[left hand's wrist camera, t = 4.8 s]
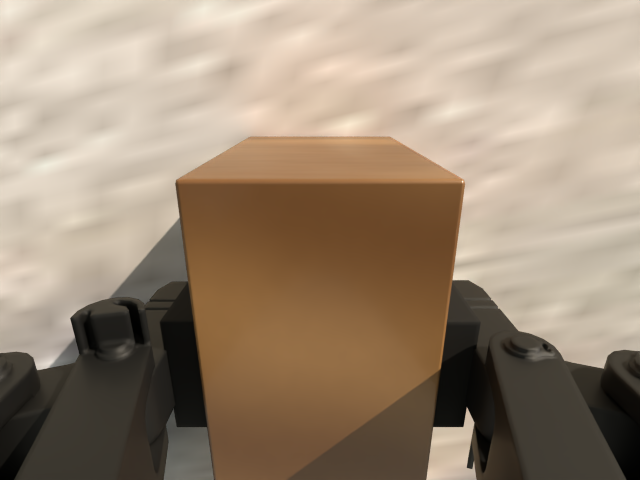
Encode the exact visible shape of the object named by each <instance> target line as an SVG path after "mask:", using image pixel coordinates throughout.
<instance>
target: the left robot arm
mask: <svg viewBox="0 0 640 480" xmlns="http://www.w3.org/2000/svg"><path fill="white" fill-rule="evenodd" d="M70 319H71V323H72V327H73V331H74V334H75V338H76V342H77V346H78V350H79V354H80V355H79V357H78V358H77V360H76V362H75V363H72V364H68V365H63V366H58V367H53V368H48V369H42V370H37V369H36V366H35V362H34V359H33V357H31V356H30V355H29V354H27V353H22V352H10V353H0V480H163V479H164V472H165V464H166V457H167V449H168V435H167V429H166V423H167V421H168V419H169V417H170V414H171V412H172V410H173V408H174V413H175V419H176V425H177V427H207V421H206V414H205V406H204V398H203V391H202V383H201V375H200V368H199V360H198V353H197V345H196V337H195V330H194V322H193V314H192V307H191V299H190V291H189V284H188V282H171V283H169V284H167V285H166V286H164V287H162V288H160V289H159V290H157V292H156V293H155V294H154V295H153V296H152V298H151V299H150V302H147V304H146V305H145V306H144V303H143V302H141V301H140V300H139V299H134V298H130V297H122V298H112V299H106V300H101V301H99V302H96V303H93V304H90V305H88V306H86V307H84V308H82V309H80V310H79V311H77V312H76V313H75V314H74V315H73V316H72V317H71V318H70ZM466 408H468V410H469V412H470V414H471V416H472V418H473V420H474V422H475V423H474V429H473V434H472V440H471V446H470V451H469V457H468V463H467V468H470V469H472V468H473V462H474V463H475V471H476V478H477V480H640V351H630V350H621V351H614V352H612V353H611V354H610V355H608V357H607V360H606V364H605V367H604V369H602V368H597V367H592V366H586V365H581V364H576V363H571V362H567V361H564V360H563V358H562V356H561V354H560V353H559V352H558V350H557V349H556V348H555V347H554V346H553V345H551V344H550V343H548V342H547V341H545V340H544V339H542V338H539V337H537V336H534V335H532V334H529V333H524V332H520V331H518V330H517V329H516V328H515V327H514V325H513V324H512V323H511V322H510V321H509V319H508V318H507V317H506V316H505V315H504V313H503V312H502V311H501V310H500V309H498V306H497V305H496V304H495V303H494V302H493V300H491V298H490V297H489V296H488V294H487V293H486V292H485V291H484V290H483V289H482V288H481V287H479V286H477V285H475V284H474V283H472V282H470V281H469V280H452V286H451V294H450V302H449V309H448V317H447V325H446V332H445V340H444V347H443V355H442V363H441V370H440V378H439V386H438V393H437V401H436V408H435V416H434V424H433V427H463V426H464V420H465V414H466Z"/></svg>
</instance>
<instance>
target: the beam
mask: <svg viewBox="0 0 640 480" xmlns="http://www.w3.org/2000/svg"><path fill="white" fill-rule="evenodd" d="M175 184H176V192H177V200H178V207H179V215H180V223H181V230H182V238H183V246H184V253H185V261H186V268H187V276H188V284H189V291H190V299H191V307H192V314H193V322H194V330H195V337H196V345H197V353H198V360H199V368H200V375H201V383H202V391H203V398H204V406H205V414H206V421H207V429H208V437H209V444H210V452H211V460H212V467H213V475H214V480H426V477H427V469H428V462H429V454H430V447H431V439H432V431H433V424H434V416H435V408H436V401H437V393H438V386H439V378H440V370H441V363H442V355H443V347H444V340H445V332H446V325H447V317H448V309H449V302H450V294H451V286H452V279H453V271H454V264H455V256H456V248H457V241H458V233H459V225H460V218H461V210H462V203H463V195H464V187H465V182H464V180H463V179H462V178H460V177H458V176H456V175H455V174H453V173H451V172H450V171H448V170H446V169H444V168H443V167H441V166H439V165H438V164H436V163H434V162H432V161H431V160H429V159H427V158H426V157H424V156H422V155H420V154H419V153H417V152H415V151H414V150H412V149H410V148H408V147H407V146H405V145H403V144H402V143H400V142H398V141H396V140H395V139H393V138H391V137H249V138H247V139H246V140H244V141H242V142H240V143H239V144H237V145H235V146H234V147H232V148H230V149H228V150H227V151H225V152H223V153H222V154H220V155H218V156H216V157H215V158H213V159H211V160H210V161H208V162H206V163H204V164H203V165H201V166H199V167H198V168H196V169H194V170H193V171H191V172H189V173H187V174H186V175H184V176H182V177H181V178H179V179H177V180H176V183H175Z"/></svg>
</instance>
